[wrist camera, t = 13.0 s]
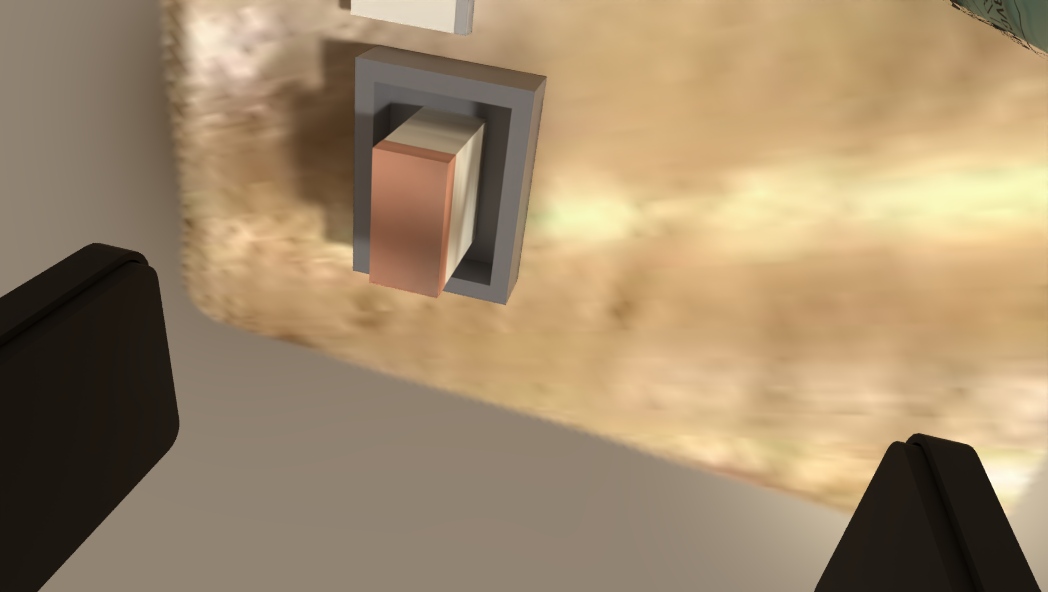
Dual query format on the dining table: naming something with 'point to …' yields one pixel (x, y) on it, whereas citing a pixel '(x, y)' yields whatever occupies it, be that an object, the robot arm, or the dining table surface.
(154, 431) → the robot arm
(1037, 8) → the beverage bottle
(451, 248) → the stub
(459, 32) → the cream slab
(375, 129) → the tray
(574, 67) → the dining table surface
